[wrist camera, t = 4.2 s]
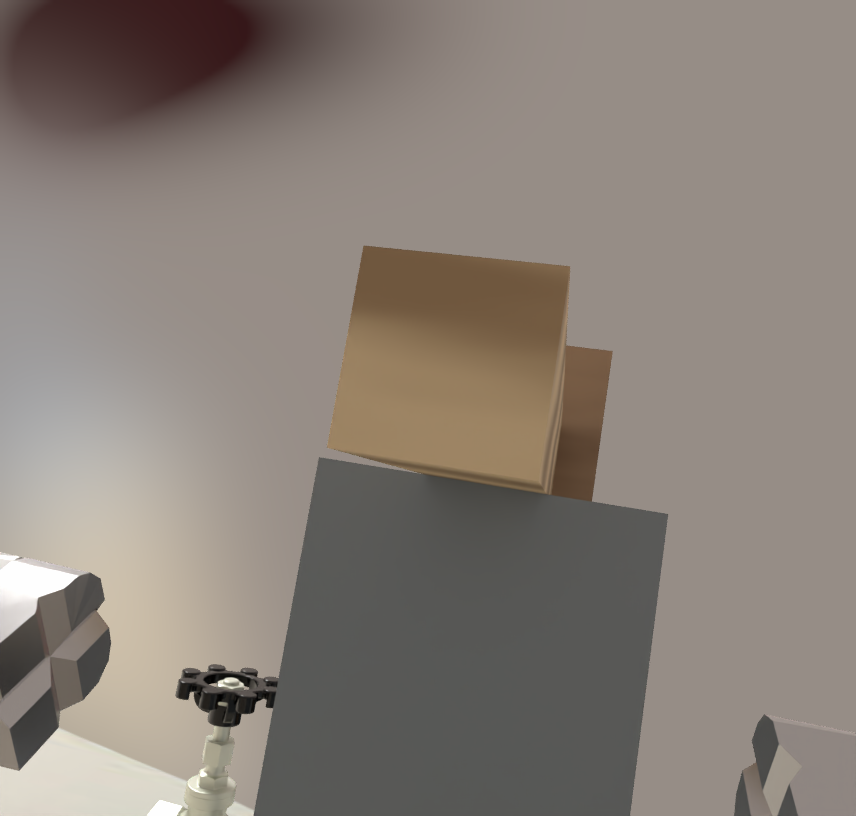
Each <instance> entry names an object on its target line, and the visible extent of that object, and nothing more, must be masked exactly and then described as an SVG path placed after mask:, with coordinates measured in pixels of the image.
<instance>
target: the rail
mask: <svg viewBox="0 0 856 816" xmlns="http://www.w3.org/2000/svg"><path fill="white" fill-rule="evenodd" d="M569 281H570V266H561V265H551V264H541V263H531V262H521V261H512V260H501V259H492V258H482V257H470V256H461V255H452V254H442V253H432V252H421V251H412V250H402V249H392V248H381V247H372V246H364V247H363V252H362V258H361V263H360V268H359V274H358V280H357V285H356V291H355V296H354V302H353V307H352V313H351V318H350V324H349V329H348V336H347V340H346V346H345V352H344V357H343V362H342V368H341V373H340V379H339V384H338V390H337V395H336V401H335V407H334V412H333V417H332V423H331V428H330V434H329V440H328V445H327V448H331V449H334V450H338V451H341V452H345V453H349V454H352V455H356V456H359V457H363V458H367V459H370V460H374V461H378V462H381V463H385V464H388V465H392V466H396V467H399V468H403V469H407V470H410V471H414V472H417V473H421V474H425V475H431V476H437V477H443V478H449V479H455V480H462V481H468V482H474V483H480V484H486V485H492V486H498V487H505V488H511V489H517V490H523V491H529V492H535V493H541V494H548V495H554V496H560V497H566V498H572V499H578V500H585V501H591V502H592V496H593V488H594V481H595V474H596V467H597V460H598V452H599V445H600V438H601V431H602V424H603V416H604V409H605V402H606V395H607V388H608V380H609V373H610V366H611V359H612V351H606V350H598V349H589V348H582V347H574V346H566V337H567V336H566V335H567V318H568V299H569Z"/></svg>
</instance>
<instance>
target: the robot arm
mask: <svg viewBox="0 0 856 816" xmlns="http://www.w3.org/2000/svg"><path fill="white" fill-rule="evenodd" d="M104 599H105V598H104V594H103V589H102V584H101V579H100V578H98V577H97V576H95V575H93V574H92V573H89V572H85V571H81V570H77V569H73V568H68V567H64V566H60V565H56V564H52V563H47V562H43V561H39V560H35V559H31V558H22V557H19V556H14V555H10V554H6V553H2V552H0V766H1V767H6V768H10V769H14V770H18V771H19V770H20V769H21V768H22V767H23V766H24V765H25V764H26V763H27V762H28V760H29V759H30V758H31V757H32V756H33V755H34V754H35V753H36V752H37V751H38V749H39V748H40V747H41V746H42V745H43V744H44V743H45V742H46V741H47V740H48V738H49V737H50V736H51V735H52V734H53V733H54V732H55V731H56V730H57V729H58V727H59V717H60V711H61V710H63V709H65V708H67V707H70V706H72V705H74V704H76V703H78V702H80V701H82V700H84V699H85V697H86V696H87V695H88V694H89V692H91V690H92V689H93V688H94V687H95V686H96V684H97V683H98V682H99V680H100V677H101V675H102V673H103V671H104V669H105V667H106V665H107V663H108V660H109V653H110V646H111V640H110V632H109V627H108V626H107V624H106V623H105V622H104V620H103V619H102V618H101V616H100V615H99V614H98V612H97V610H98V608H99V607H100V606H101V604H102V603H103V601H104ZM752 743H753V748H754V752H755V757H756V763H754V764H753V765H751V766H749V767H748V768H746V769H744V770H743V771H742V774H741V778H740V782H739V785H738V790H737V793H736V803H735V814H734V816H856V733H853V732H849V731H843V730H839V729H834V728H829V727H824V726H819V725H815V724H810V723H805V722H800V721H795V720H790V719H785V718H780V717H775V716H770V715H764V716H763V717H762V718H761V720H760V721H759V722H758V724H757V727H756V730H755V733H754V736H753V739H752Z"/></svg>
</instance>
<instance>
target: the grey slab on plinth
mask: <svg viewBox="0 0 856 816" xmlns="http://www.w3.org/2000/svg"><path fill="white" fill-rule="evenodd" d="M667 519H668V514H664V513H658V512H652V511H646V510H639V509H634V508H627V507H621V506H615V505H609V504H603V503H597V502H591V501H585V500H578V499H572V498H566V497H560V496H554V495H548V494H541V493H535V492H529V491H523V490H517V489H511V488H505V487H498V486H492V485H486V484H480V483H474V482H468V481H462V480H455V479H449V478H443V477H437V476H431V475H425V474H419V473H412V472H406V471H400V470H394V469H388V468H382V467H376V466H369V465H363V464H357V463H351V462H345V461H338V460H332V459H326V458H320V457H319V461H318V466H317V471H316V477H315V482H314V487H313V493H312V498H311V504H310V509H309V515H308V520H307V526H306V531H305V537H304V542H303V548H302V554H301V559H300V564H299V570H298V575H297V581H296V586H295V592H294V597H293V603H292V608H291V613H290V619H289V624H288V630H287V635H286V641H285V646H284V652H283V658H282V663H281V669H280V674H279V679H278V685H277V690H276V696H275V701H274V707H273V712H272V718H271V724H270V729H269V734H268V740H267V745H266V750H265V756H264V762H263V767H262V773H261V778H260V783H259V789H258V794H257V800H256V805H255V811H254V816H630V811H631V803H632V795H633V787H634V779H635V771H636V764H637V756H638V748H639V740H640V732H641V723H642V716H643V708H644V700H645V693H646V685H647V677H648V668H649V661H650V653H651V645H652V636H653V629H654V621H655V613H656V606H657V597H658V589H659V581H660V573H661V566H662V558H663V550H664V542H665V534H666V527H667Z"/></svg>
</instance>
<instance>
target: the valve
mask: <svg viewBox="0 0 856 816" xmlns="http://www.w3.org/2000/svg"><path fill="white" fill-rule="evenodd" d="M257 674H258V671H257V670H256V669H253V668H243V669H241V672H233V671H227V670H226V668H225V667H224V666H222V665H216V664H213V665H210V666H209V667H208V671H207V672H200V670H198V669H194V668H186V669H184V670H183V671H182V676H181V679H179V681H178V686H177V691H176V697H177V698H179V699H183V700H188V699H189V694H190V692H194V699H195V702H196V705H197V706H198V707H199V708H200V709H201V710H202V711H205V712H208V713H209V715H208V722H209V723H210V724H212V725H214V726H215V727H214V732H213V735H210V736H207V737H206V741H205V746H204V751H203V757H202V760H203V764H205V765H206V767H205V768H203V769H201V770H200V772H199V775H196V776H193V777H191V778H190V779H189V780H188V782H187V786H186V791H185V796H184V801H185V803H186V804H187V805H188V809H186V808H184V807H183V806H179V805H175V804H172V803H168V802H164V801H159V802H158V803H157V804H156V805H155V806H154V807H153V809H152V810H151V811H150V813H149V814H148V816H228V815H227V814H226V810H227V808H228V807H230V806H231V805H232V804H233V802H234V797H235V791H236V783H235V782H234V780H232V779H231V778H229V777H228V772H227V770H225V766H227V765H230V764H231V759H232V754H233V748H234V739H233V738H232V737H231V736H229V735H230V729H231V727H234V726H237V725H239V724H240V720H241V715H242V714H251V713H253V712H254V710H255V704H256V702H257V701H260V700H262V699H266V700H267V702H266V707H267V708H273V707H274V701H275V696H276V690H277V685H278V679H279V678H276V677H265V678H264V679H262V678H258V677H257ZM212 683H217V687H214V686H211V685H209V684H212ZM244 686H247V687H249V690H244Z"/></svg>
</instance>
